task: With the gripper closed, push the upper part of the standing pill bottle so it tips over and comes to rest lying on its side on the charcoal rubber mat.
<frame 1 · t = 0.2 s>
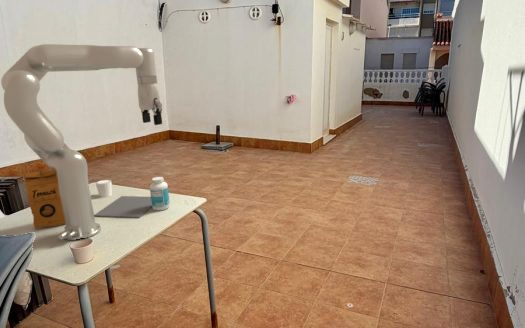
hand: (152, 123, 141), 37 cm above the table, tool pointing down, fingers open, 9 cm apart
white ridged cylinder: (105, 195, 166), on the table
mat: (130, 206, 151), on the table
pill bottle: (161, 208, 149), on the table
coffee package: (52, 224, 136), on the table
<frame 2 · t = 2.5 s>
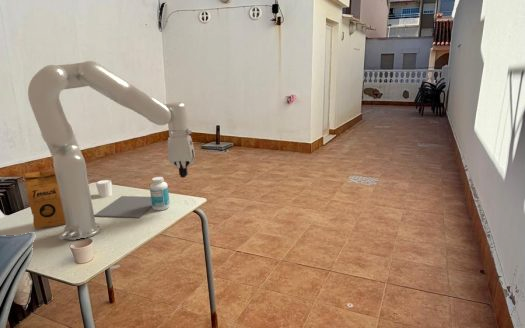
hand: (183, 176, 144), 14 cm above the table, tool pointing down, fingers closed
nothing on the table moved.
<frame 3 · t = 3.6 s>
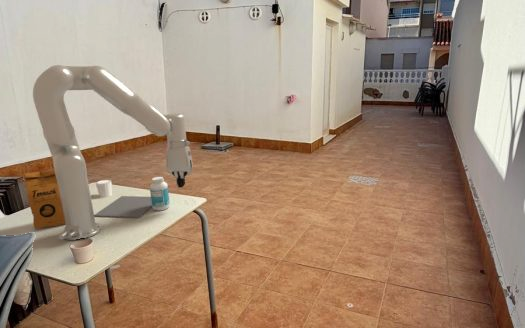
hand: (181, 186, 145), 10 cm above the table, tool pointing down, fingers closed
nothing on the table moved.
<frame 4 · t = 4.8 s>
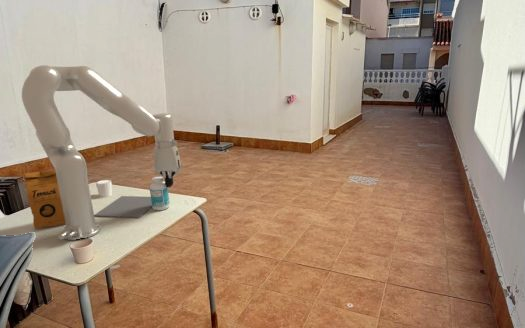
hand: (169, 186, 145), 10 cm above the table, tool pointing down, fingers closed
pill bottle: (161, 208, 149), on the table, touching gripper
everything else where it was.
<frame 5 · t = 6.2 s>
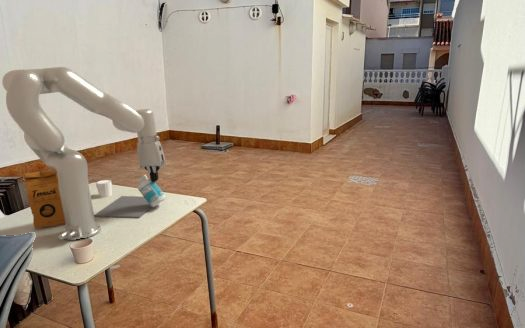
hand: (154, 180, 147), 12 cm above the table, tool pointing down, fingers closed
pill bottle: (159, 203, 148), point 2 cm above the table, touching gripper
everything else where it was.
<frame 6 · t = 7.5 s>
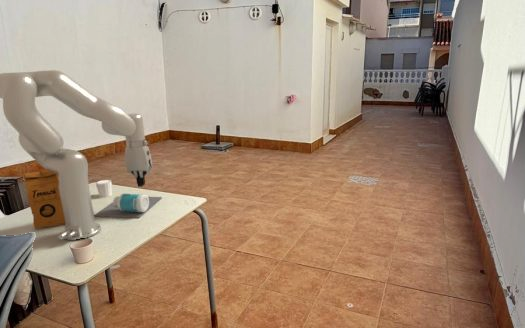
hand: (141, 185, 147), 10 cm above the table, tool pointing down, fingers closed
pill bottle: (145, 203, 142), point 4 cm above the table, touching mat
everything else where it was.
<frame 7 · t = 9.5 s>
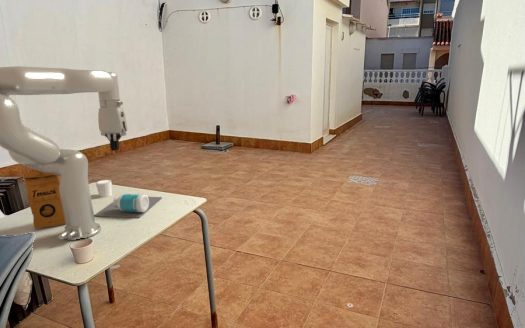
hand: (115, 149, 140), 27 cm above the table, tool pointing down, fingers closed
nothing on the table moved.
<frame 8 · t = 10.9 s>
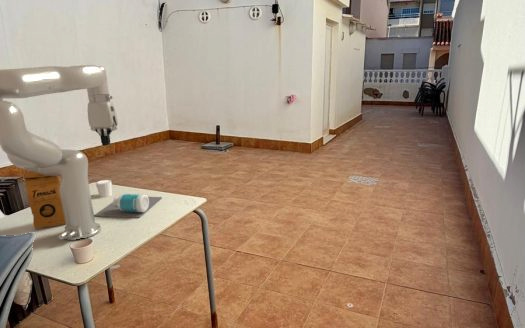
hand: (106, 144, 138), 29 cm above the table, tool pointing down, fingers closed
nothing on the table moved.
at the end: pill bottle tilted 90°; pill bottle touching mat; pill bottle inside the target area (6.8 cm from its centre), point 4.3 cm above the table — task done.
